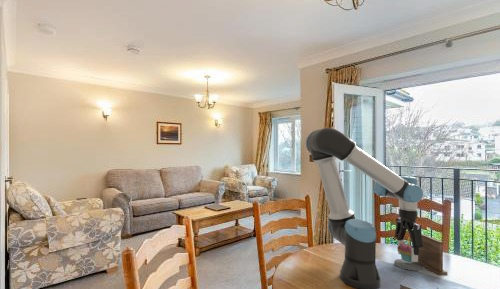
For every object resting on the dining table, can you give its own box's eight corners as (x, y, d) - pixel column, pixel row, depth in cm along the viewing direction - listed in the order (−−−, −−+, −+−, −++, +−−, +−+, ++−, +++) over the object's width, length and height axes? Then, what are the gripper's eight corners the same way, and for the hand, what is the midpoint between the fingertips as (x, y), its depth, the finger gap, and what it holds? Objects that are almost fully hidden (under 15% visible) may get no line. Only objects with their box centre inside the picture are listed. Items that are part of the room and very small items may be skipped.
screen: (436, 274, 113) (436, 242, 114) (409, 259, 130) (409, 231, 131) (447, 274, 114) (447, 242, 114) (418, 259, 131) (418, 231, 131)
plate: (404, 271, 116) (405, 268, 116) (389, 261, 127) (389, 258, 127) (427, 270, 117) (427, 268, 117) (410, 260, 128) (410, 258, 128)
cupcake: (421, 264, 118) (421, 238, 118) (400, 262, 119) (401, 236, 120) (413, 257, 126) (413, 232, 126) (394, 255, 128) (394, 231, 128)
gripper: (433, 214, 113) (432, 267, 112) (400, 204, 134) (400, 249, 133) (417, 214, 112) (416, 267, 111) (386, 204, 133) (386, 249, 132)
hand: (407, 257), depth 122 cm, fingers closed on cupcake, 8 cm apart
